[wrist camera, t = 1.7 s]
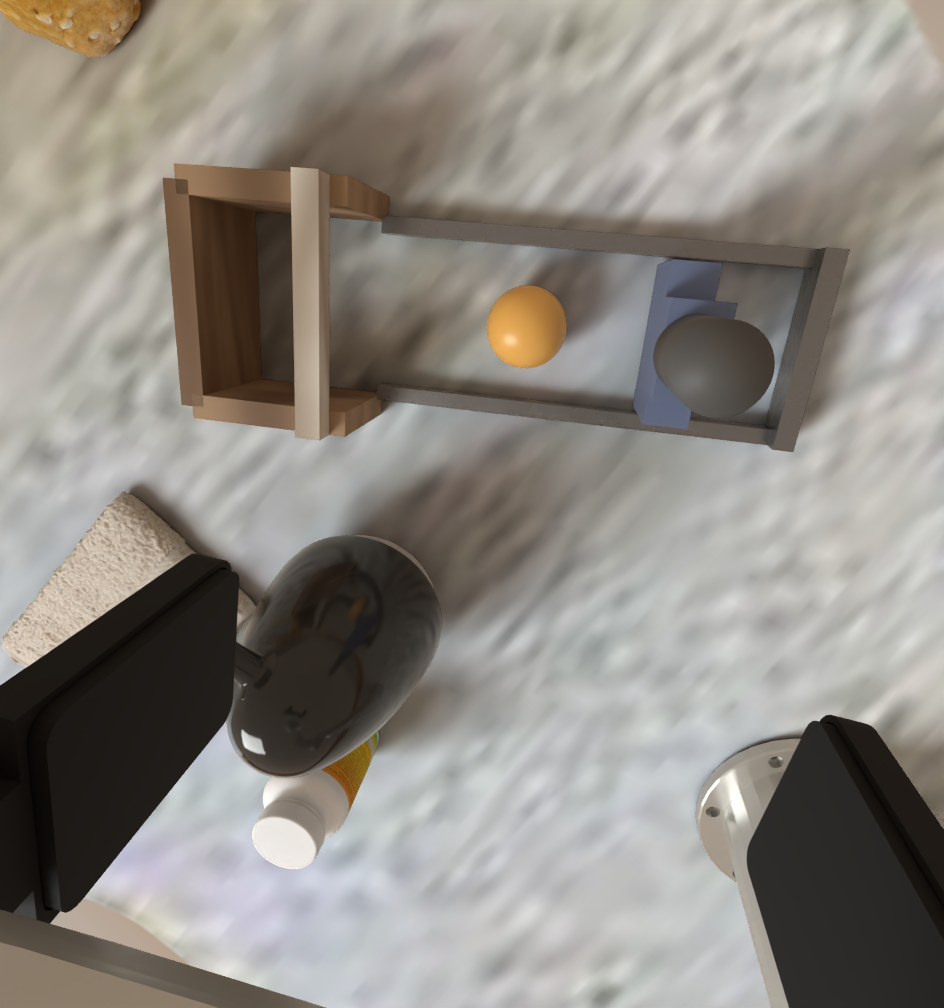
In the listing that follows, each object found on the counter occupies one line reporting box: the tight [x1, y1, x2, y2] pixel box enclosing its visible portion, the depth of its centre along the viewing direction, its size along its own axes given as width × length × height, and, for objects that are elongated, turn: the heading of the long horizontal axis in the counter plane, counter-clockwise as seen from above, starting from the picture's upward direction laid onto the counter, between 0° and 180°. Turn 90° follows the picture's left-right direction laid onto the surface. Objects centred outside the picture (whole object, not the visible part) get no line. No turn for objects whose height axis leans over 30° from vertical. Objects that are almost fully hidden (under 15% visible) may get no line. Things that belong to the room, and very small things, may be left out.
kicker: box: [633, 259, 775, 429], centre depth 25 cm, size 3×7×13 cm, turn 175°
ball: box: [487, 286, 567, 368], centre depth 30 cm, size 4×4×4 cm
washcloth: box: [2, 492, 256, 667], centre depth 42 cm, size 12×18×3 cm, turn 137°
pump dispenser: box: [226, 535, 442, 779], centre depth 32 cm, size 10×10×15 cm
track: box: [377, 215, 850, 452], centre depth 31 cm, size 22×9×2 cm, turn 86°
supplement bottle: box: [252, 731, 379, 869], centre depth 39 cm, size 5×5×10 cm
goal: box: [163, 164, 389, 440], centre depth 30 cm, size 9×11×7 cm
